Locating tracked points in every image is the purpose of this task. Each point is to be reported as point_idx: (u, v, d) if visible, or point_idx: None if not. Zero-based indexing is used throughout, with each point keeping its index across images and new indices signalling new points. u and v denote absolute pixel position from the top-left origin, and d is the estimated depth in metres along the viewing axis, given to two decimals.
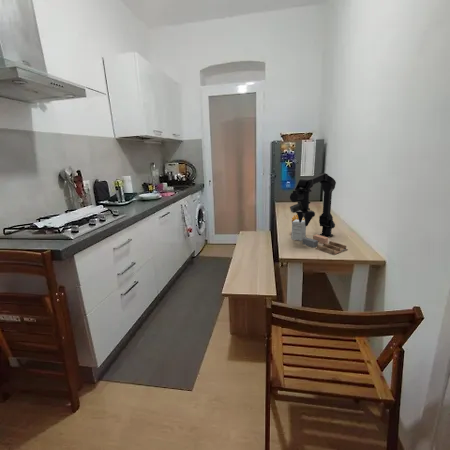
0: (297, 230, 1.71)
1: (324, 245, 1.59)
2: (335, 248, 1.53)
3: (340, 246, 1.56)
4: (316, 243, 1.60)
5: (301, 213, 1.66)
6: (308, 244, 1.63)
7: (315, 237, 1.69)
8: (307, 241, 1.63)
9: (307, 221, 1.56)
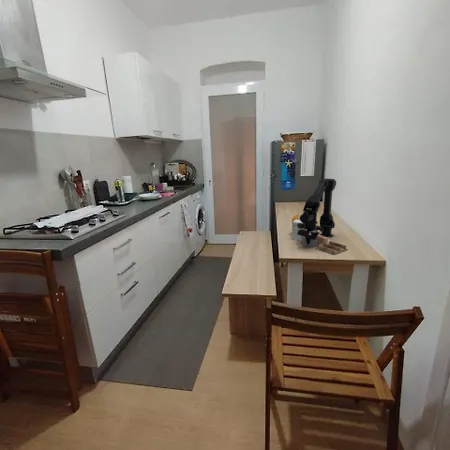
0: (297, 230, 1.71)
1: (324, 245, 1.59)
2: (335, 248, 1.53)
3: (340, 246, 1.56)
4: (316, 243, 1.60)
5: (314, 234, 1.63)
6: None
7: None
8: None
9: (307, 239, 1.61)
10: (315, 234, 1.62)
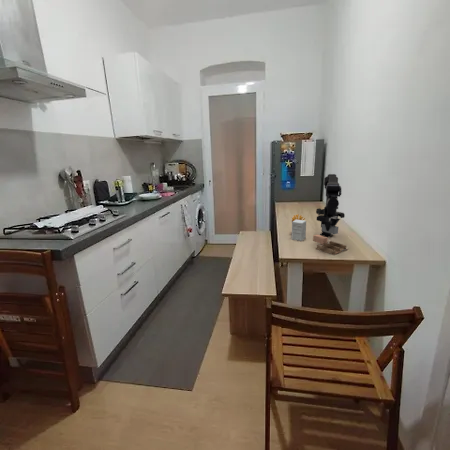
0: (297, 230, 1.71)
1: (324, 245, 1.59)
2: (335, 248, 1.53)
3: (340, 246, 1.56)
4: (336, 229, 1.52)
5: (334, 220, 1.55)
6: None
7: (315, 237, 1.70)
8: None
9: (326, 226, 1.53)
10: (335, 220, 1.54)
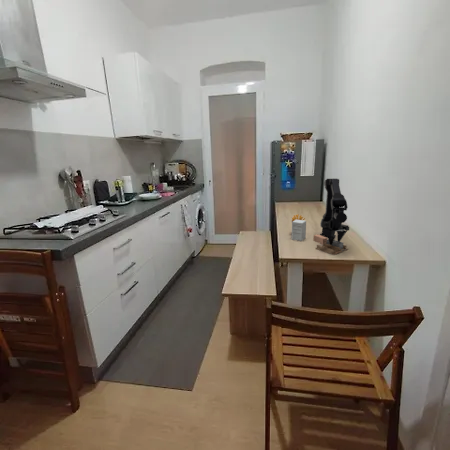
0: (297, 230, 1.71)
1: (324, 245, 1.59)
2: (335, 248, 1.53)
3: None
4: (341, 245, 1.53)
5: (340, 233, 1.57)
6: None
7: (315, 237, 1.70)
8: None
9: (330, 239, 1.53)
10: (342, 233, 1.56)
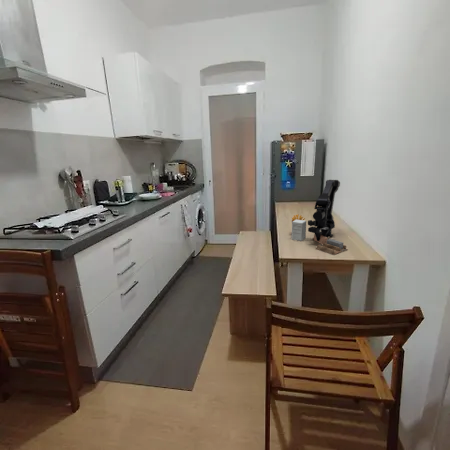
0: (297, 230, 1.71)
1: (324, 245, 1.59)
2: (335, 248, 1.53)
3: None
4: (341, 245, 1.53)
5: (324, 231, 1.68)
6: None
7: (315, 236, 1.70)
8: (331, 243, 1.56)
9: (317, 236, 1.66)
10: (325, 231, 1.67)
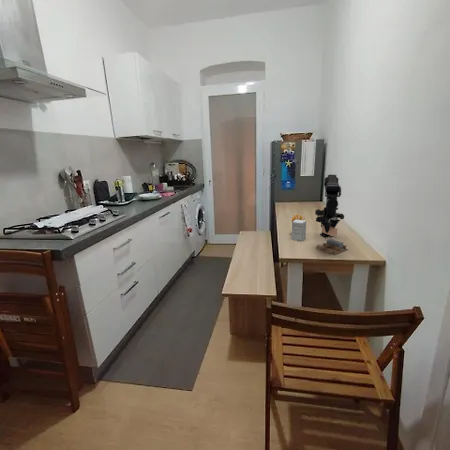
0: (297, 230, 1.71)
1: (324, 245, 1.59)
2: (335, 248, 1.53)
3: None
4: (341, 245, 1.53)
5: (333, 222, 1.51)
6: None
7: (324, 228, 1.53)
8: (331, 243, 1.56)
9: (326, 227, 1.49)
10: (335, 221, 1.50)
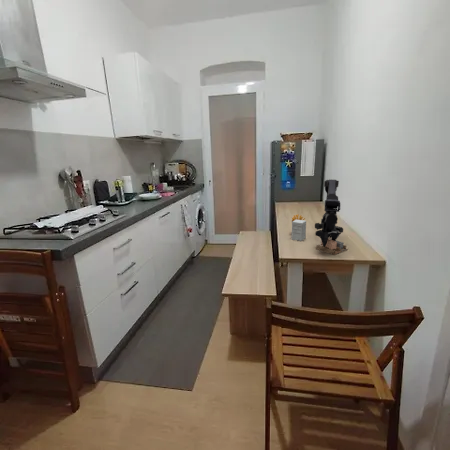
0: (297, 230, 1.71)
1: None
2: None
3: None
4: (341, 245, 1.53)
5: (334, 235, 1.53)
6: None
7: None
8: None
9: (323, 241, 1.50)
10: (336, 234, 1.52)
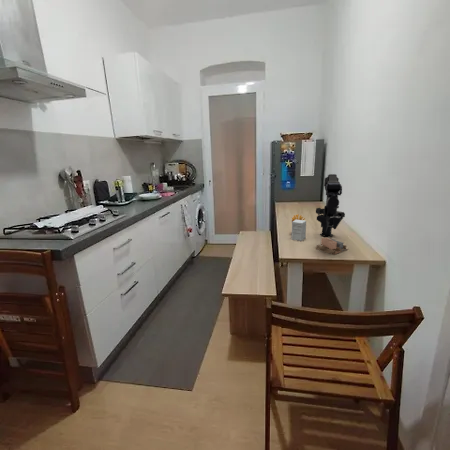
0: (297, 230, 1.71)
1: None
2: None
3: None
4: (341, 245, 1.53)
5: (337, 219, 1.51)
6: None
7: (323, 240, 1.55)
8: None
9: (324, 226, 1.47)
10: (338, 219, 1.50)
